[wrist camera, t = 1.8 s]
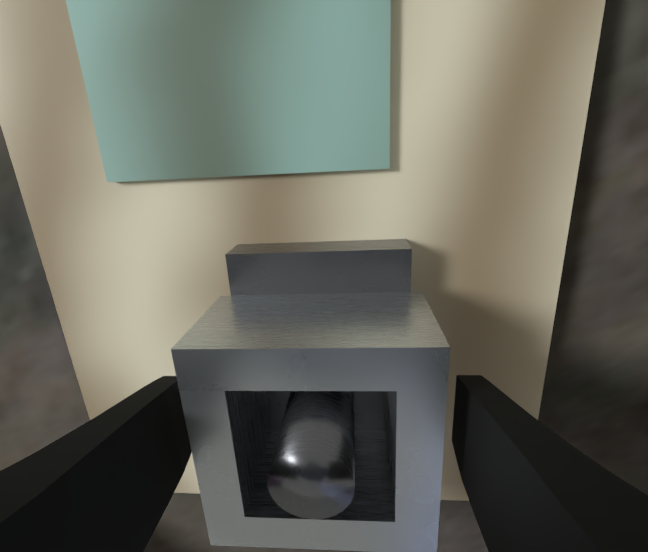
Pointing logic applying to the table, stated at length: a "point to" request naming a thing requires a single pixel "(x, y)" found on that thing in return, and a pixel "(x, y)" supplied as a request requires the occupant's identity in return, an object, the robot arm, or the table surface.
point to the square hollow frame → (317, 375)
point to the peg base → (319, 406)
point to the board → (298, 164)
